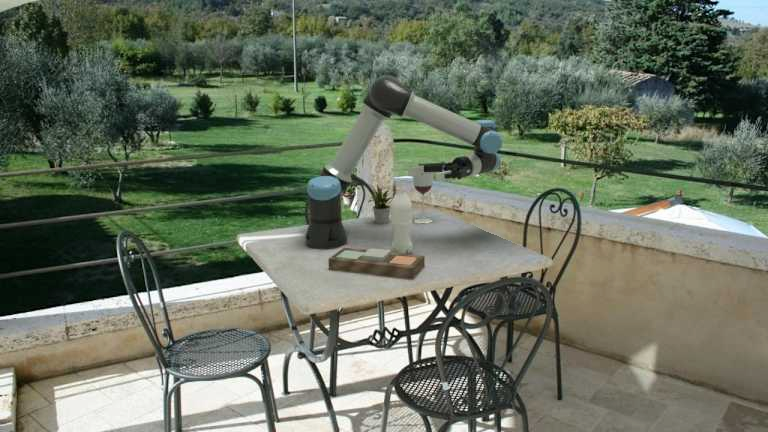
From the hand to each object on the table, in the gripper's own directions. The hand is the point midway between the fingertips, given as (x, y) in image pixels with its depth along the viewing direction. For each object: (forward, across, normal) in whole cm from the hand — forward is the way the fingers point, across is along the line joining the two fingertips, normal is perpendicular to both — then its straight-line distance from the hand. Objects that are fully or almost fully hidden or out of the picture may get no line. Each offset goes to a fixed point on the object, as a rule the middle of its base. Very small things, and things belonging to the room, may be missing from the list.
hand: (422, 174), depth 209 cm
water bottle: (+10, 0, -26) cm, 28 cm away
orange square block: (+21, -13, -25) cm, 35 cm away
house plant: (-10, +36, -26) cm, 46 cm away
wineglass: (-23, +25, -26) cm, 43 cm away
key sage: (+30, +2, -25) cm, 39 cm away
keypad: (+25, -5, -26) cm, 37 cm away
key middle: (+25, -5, -24) cm, 35 cm away
